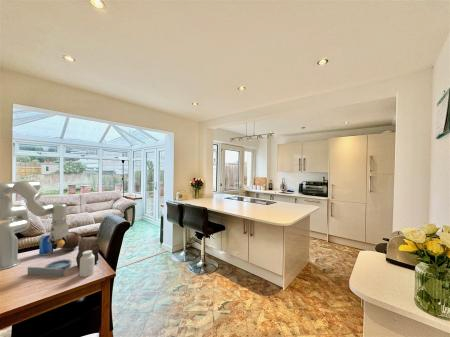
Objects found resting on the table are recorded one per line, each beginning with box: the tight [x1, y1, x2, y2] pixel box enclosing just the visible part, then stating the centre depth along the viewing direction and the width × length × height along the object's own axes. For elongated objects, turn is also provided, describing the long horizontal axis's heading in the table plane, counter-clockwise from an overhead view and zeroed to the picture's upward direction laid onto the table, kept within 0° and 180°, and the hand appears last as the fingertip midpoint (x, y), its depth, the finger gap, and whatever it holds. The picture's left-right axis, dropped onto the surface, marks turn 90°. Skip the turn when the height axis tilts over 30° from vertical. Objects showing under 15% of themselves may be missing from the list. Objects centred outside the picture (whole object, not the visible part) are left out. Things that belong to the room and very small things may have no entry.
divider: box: [27, 266, 64, 278], centre depth 123 cm, size 24×1×4 cm, turn 86°
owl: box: [75, 235, 100, 271], centre depth 137 cm, size 13×13×20 cm
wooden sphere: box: [60, 231, 82, 251], centre depth 161 cm, size 15×15×15 cm
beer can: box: [38, 232, 54, 256], centre depth 153 cm, size 8×8×16 cm
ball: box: [56, 239, 65, 249], centre depth 132 cm, size 6×6×6 cm
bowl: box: [43, 259, 73, 271], centre depth 132 cm, size 14×14×2 cm
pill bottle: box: [79, 250, 95, 278], centre depth 125 cm, size 8×8×15 cm
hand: (58, 246), depth 132 cm, fingers closed on ball, 5 cm apart
